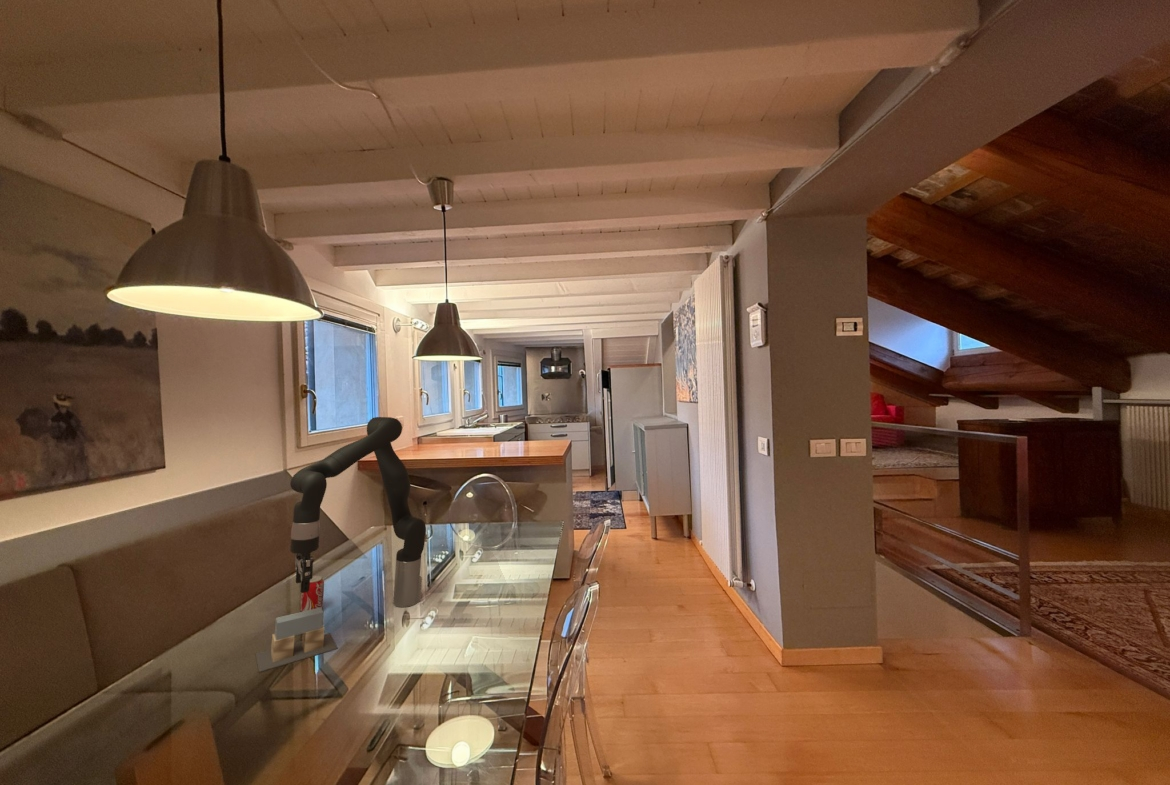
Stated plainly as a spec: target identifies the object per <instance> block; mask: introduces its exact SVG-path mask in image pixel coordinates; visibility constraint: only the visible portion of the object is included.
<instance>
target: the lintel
mask: <svg viewBox="0 0 1170 785" xmlns="http://www.w3.org/2000/svg"><path fill="white" fill-rule="evenodd" d="M324 614H325V613H324V611H323V607H322V608H321V607H320V608H316V609H312V610H307V611H303V612H300V611H299V612H296V613H292V614H290V613H289V614H286V615H282V616H279V617H275V625H274V626H275V627H274V634H275V638H276V640H279V639H283V638H287V637H291V636H294V637H295V636H298V635H301V634H302V635H303V633H306V632H310V631H313V630H317V629H321V628H323V626H324V624H323V623H324Z"/></svg>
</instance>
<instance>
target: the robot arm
mask: <svg viewBox="0 0 1170 785" xmlns="http://www.w3.org/2000/svg"><path fill="white" fill-rule="evenodd" d="M402 432H403V425H402V422H401V421H400V420H399V419H398V418H395V417H391V416H387V417H386V416H375V417H372V418H371V419H369V421H368V422H367V425H366V435H367V436H364V437H363V438H362V437H361V438H360V439H358V440H356V441H353V442H351V443H349V444H346V445H344V446H342V447H339V448H338V449H336V450H335V451H333V452H332V453H329V455H327V456H326V457H325V458H323V459H321V460H319V461H316V462H313V463H311V464H309V465H307V466H305V467H303V468H301V469H300V470H298V471H297V472H295V474H293V476H292V478H291V480H290V488H291V489H292V490H293V491H294V492H295V493H296V492H297V493H300V494H302V498H301V501H298V502H296V503H295V505H294V506H293V513H292V514H293V516H292V517H293V518H292V526H291V531H290V546H289V547H290V548H289V552H290V553H292V554H295V555H294V556H295V558H294V559H295V560H294V561H295V562H294V568H295V583H296V584H300V594H301V593H305V592H308V591H309V588H310V579H312V578H313V576H314V575H313V573H314V572H313V571H314V569H313V567H314V559H313V556H312V554H311V553H312V552H315V551H317V550H318V549H319V548H320V535H321V534H320V532H321V524H320V517H321V516H320V514H321V506H322V503H323V501H324V500H323V499H324V497H325V493H326V491H327V485H328V483H327V479H328V478H329V479H330V478H335V477H337V476H339V475H341V474H342V473H343V472H345V471H346V470H347V469H349V468H350V467H352V466H353V465H354V464H356V463H357V462H359V461H360V460H362V459H363V458H365V457H367V456H368V455H369V454H372V453H374V455H375V459H376V462H377V465H378V468H379V472H380V476H381V479H382V483H383V487H384V492H385V493H386V494H385V495H386V498H387V501H388V505H389V509H390V513H391V521H392V527H393V533H394V534H395V536H396V537H397V539H400V540H403V546H402V548H399V549H398V550H397V551H396V557H395V572H394V583H393V584H394V587H393V599H392V600H393V601H392V604H393V605H394V606H395V607H398V608H406V607H407V608H408V607H411V606H414V605H416V604H417V603H419V602H421V594H422V580H423V577H422V576H421V566H422V565H421V564H422V563H421V562H422V553H423V551H424V549H425V542H426V541H425V540H426V532H427V528H426V523H425V521H424V520H423V519H421V518H419V517H416V516H413V515H412V513H411V510H410V507H409V496H410V493H411V486H412V484H411V480H410V476H409V472H408V469H407V467H406V465H405V464H404V462H403V461H402V460H401V459H400V457H399V456H398V455H397V453H396V452H395V451H394V448H393V445H392V442H395V441H397V439H398V438H400V436H401V434H402ZM307 573H308V575H306V574H307Z"/></svg>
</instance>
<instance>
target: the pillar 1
mask: <svg viewBox="0 0 1170 785" xmlns="http://www.w3.org/2000/svg"><path fill="white" fill-rule="evenodd" d="M294 643H295V635H294V636H291V637H287V638H283V639H279V640H276V638H275V633H272V634H271V646H270V649H271V657H272V661H273V662H275V661H278V660H282V659H285V658H289V657H292V656H293V650H294Z"/></svg>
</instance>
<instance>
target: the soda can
mask: <svg viewBox="0 0 1170 785" xmlns="http://www.w3.org/2000/svg"><path fill="white" fill-rule="evenodd" d="M312 576H313V578H312V579H310V588H309V591H308V592H305V593H301V592H300V606H299V608H300V611H299V612H303V611H307V610H312V609H316V608H320V607H321V608H322V609H323V605H324V604H323V603H324V593H325V592H324V591H325V581H324V579H323V578H324V577H323V576H322V575H312Z"/></svg>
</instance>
